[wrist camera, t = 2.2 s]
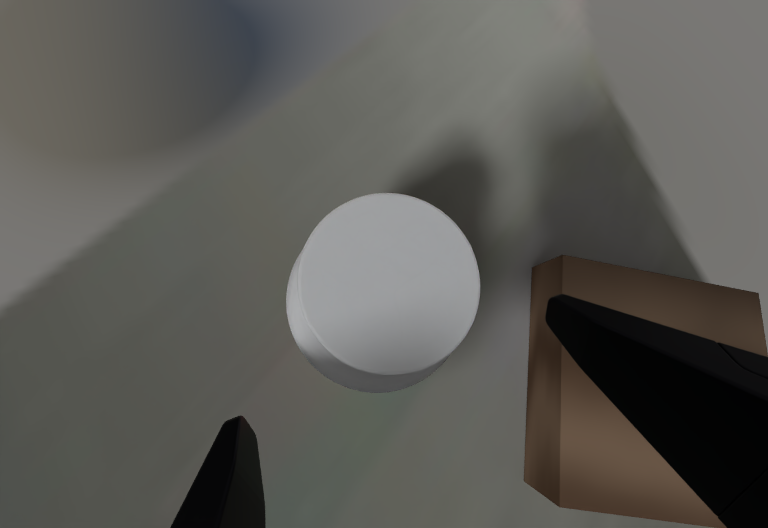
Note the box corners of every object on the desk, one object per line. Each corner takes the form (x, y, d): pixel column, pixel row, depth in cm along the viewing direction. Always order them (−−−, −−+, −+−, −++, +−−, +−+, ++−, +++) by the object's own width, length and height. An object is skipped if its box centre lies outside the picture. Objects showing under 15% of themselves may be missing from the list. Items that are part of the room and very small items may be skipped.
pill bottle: (337, 248, 20) (331, 130, 9) (431, 289, 20) (537, 220, 9) (289, 347, 18) (212, 347, 7) (392, 391, 18) (466, 456, 7)
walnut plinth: (724, 508, 19) (794, 537, 16) (523, 481, 18) (559, 507, 15) (703, 300, 22) (758, 293, 19) (531, 267, 21) (562, 254, 18)
